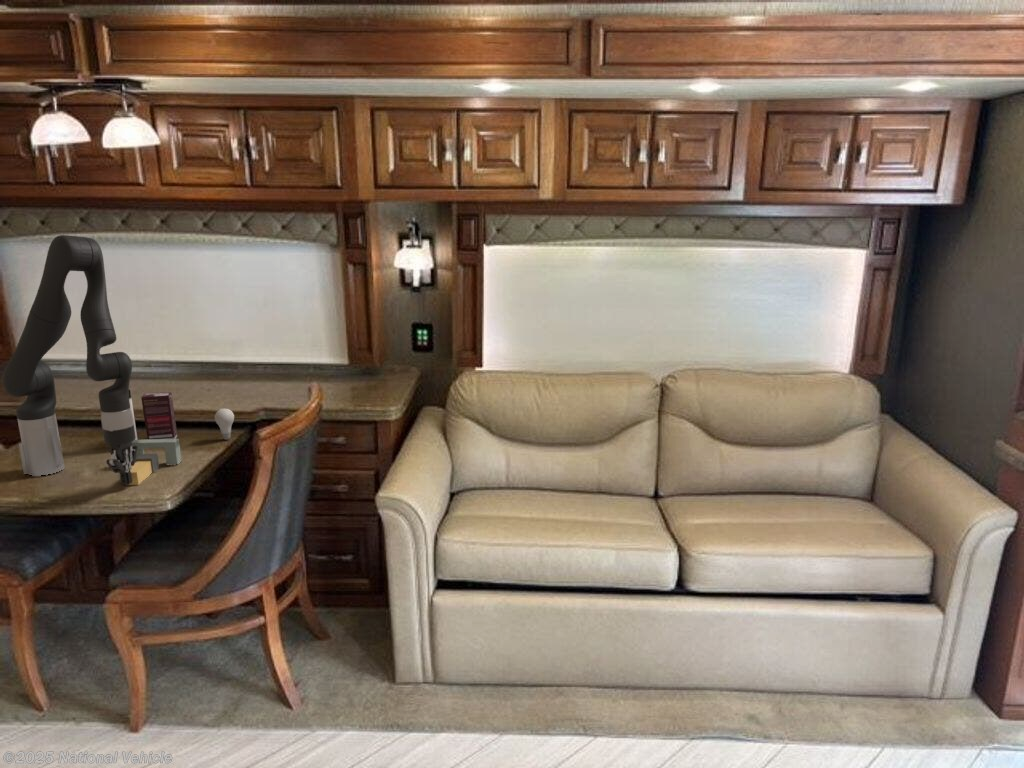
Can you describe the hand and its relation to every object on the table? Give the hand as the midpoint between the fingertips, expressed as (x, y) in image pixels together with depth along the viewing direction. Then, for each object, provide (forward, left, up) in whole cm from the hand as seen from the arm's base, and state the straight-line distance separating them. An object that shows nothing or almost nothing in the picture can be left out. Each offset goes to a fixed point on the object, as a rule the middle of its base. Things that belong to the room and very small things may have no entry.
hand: (126, 483), depth 190 cm
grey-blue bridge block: (0, +19, -1) cm, 19 cm away
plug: (0, +9, -1) cm, 9 cm away
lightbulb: (+14, +41, -2) cm, 43 cm away
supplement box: (-8, +43, -2) cm, 43 cm away
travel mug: (-16, +35, -2) cm, 38 cm away
